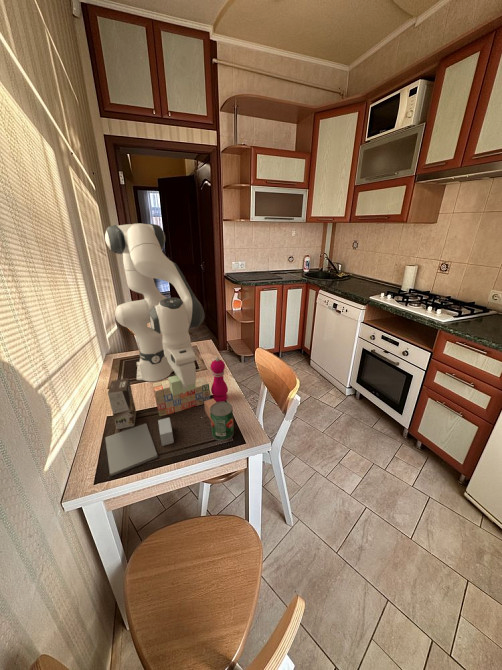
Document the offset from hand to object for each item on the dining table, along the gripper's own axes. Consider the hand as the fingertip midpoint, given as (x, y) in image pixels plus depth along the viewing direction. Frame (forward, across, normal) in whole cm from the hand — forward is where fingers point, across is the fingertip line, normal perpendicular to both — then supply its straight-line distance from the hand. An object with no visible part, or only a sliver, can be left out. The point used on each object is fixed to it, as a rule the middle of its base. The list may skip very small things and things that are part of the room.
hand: (182, 384), depth 94 cm
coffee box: (+19, -17, -19) cm, 32 cm away
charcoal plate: (+19, -1, -20) cm, 28 cm away
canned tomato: (+19, +9, +10) cm, 24 cm away
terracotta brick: (+19, -2, +11) cm, 22 cm away
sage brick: (+2, 0, 0) cm, 2 cm away
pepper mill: (+19, -11, +18) cm, 29 cm away
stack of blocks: (+19, -14, +3) cm, 24 cm away
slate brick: (+19, 0, -8) cm, 21 cm away
